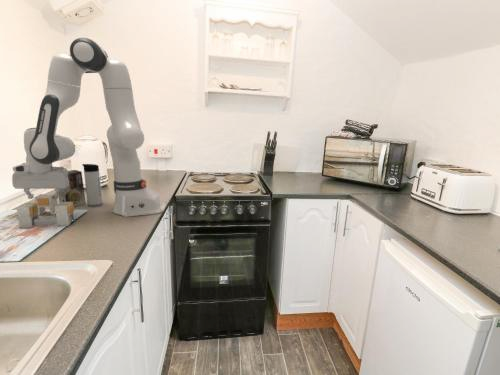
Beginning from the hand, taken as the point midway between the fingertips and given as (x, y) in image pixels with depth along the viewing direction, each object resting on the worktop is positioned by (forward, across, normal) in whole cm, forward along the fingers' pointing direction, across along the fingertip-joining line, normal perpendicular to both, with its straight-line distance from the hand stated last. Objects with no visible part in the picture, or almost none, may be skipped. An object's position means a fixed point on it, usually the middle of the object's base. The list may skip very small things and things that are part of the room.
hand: (43, 198), depth 126 cm
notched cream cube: (+7, -1, 0) cm, 7 cm away
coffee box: (+7, -7, -11) cm, 15 cm away
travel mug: (+6, -17, -10) cm, 21 cm away
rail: (+7, -7, +14) cm, 17 cm away
